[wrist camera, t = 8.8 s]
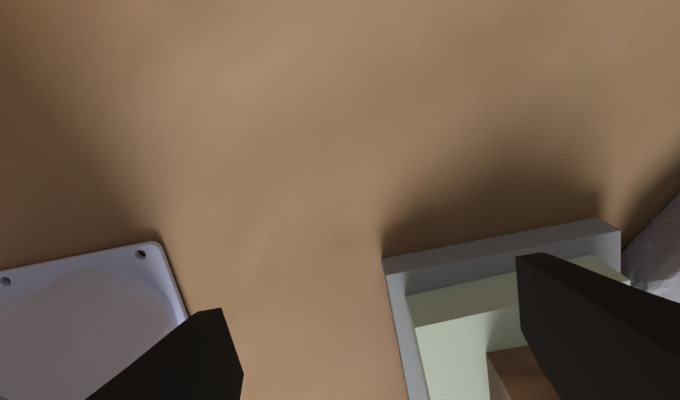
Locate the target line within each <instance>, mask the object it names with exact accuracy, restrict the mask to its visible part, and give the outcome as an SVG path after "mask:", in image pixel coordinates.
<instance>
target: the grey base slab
mask: <svg viewBox="0 0 680 400" xmlns="http://www.w3.org/2000/svg"><path fill="white" fill-rule="evenodd" d="M538 252H544V253H547V254H550V255H553V256H556V257H559V258H561V259H564V260H568V259H572V258H576V257H581V256H585V255H590V254H594V255H595V256H597V257H598V258H599V259H601V260H602V261H604V262H605V263H606V264H608V265H609V266H611V267H612V268H614V269H615V270H616V271H618V272H619V273H621V230H619V229H617V228H616V227H614V226H612V225H610V224H608V223H606V222H605V221H603V220H601V219H599V218H597V217H594V218H589V219H584V220H579V221H573V222H568V223H563V224H558V225H553V226H548V227H543V228H537V229H532V230H527V231H522V232H517V233H512V234H506V235H501V236H496V237H491V238H486V239H481V240H475V241H470V242H465V243H460V244H455V245H450V246H445V247H439V248H434V249H429V250H424V251H419V252H414V253H408V254H403V255H398V256H393V257H388V258H383V259H382V264H383V269H384V275H385V280H386V285H387V290H388V296H389V301H390V306H391V311H392V316H393V322H394V327H395V332H396V337H397V343H398V348H399V353H400V358H401V364H402V369H403V374H404V379H405V384H406V390H407V395H408V400H428V398H427V394H426V389H425V385H424V380H423V376H422V372H421V367H420V363H419V358H418V354H417V349H416V345H415V341H414V336H413V332H412V327H411V323H410V318H409V314H408V310H407V305H406V301H405V296H409V295H413V294H418V293H422V292H427V291H431V290H435V289H440V288H444V287H449V286H453V285H457V284H462V283H466V282H471V281H475V280H479V279H484V278H488V277H493V276H497V275H502V274H506V273H510V272H515V271H516V262H515V256H521V255H527V254H533V253H538Z"/></svg>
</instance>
